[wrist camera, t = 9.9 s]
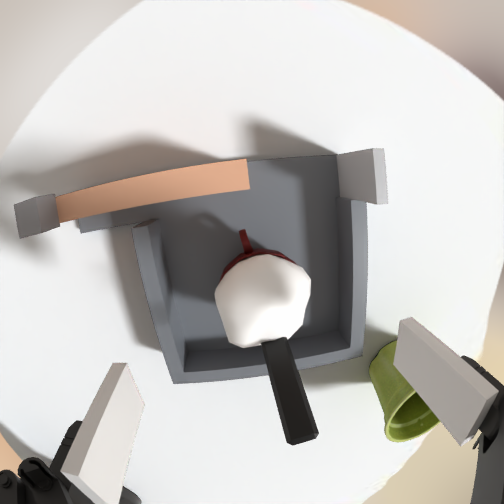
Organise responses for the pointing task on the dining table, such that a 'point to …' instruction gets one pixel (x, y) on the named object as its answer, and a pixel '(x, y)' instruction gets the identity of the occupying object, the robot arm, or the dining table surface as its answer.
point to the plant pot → (399, 399)
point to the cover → (130, 194)
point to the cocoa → (270, 325)
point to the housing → (266, 237)
